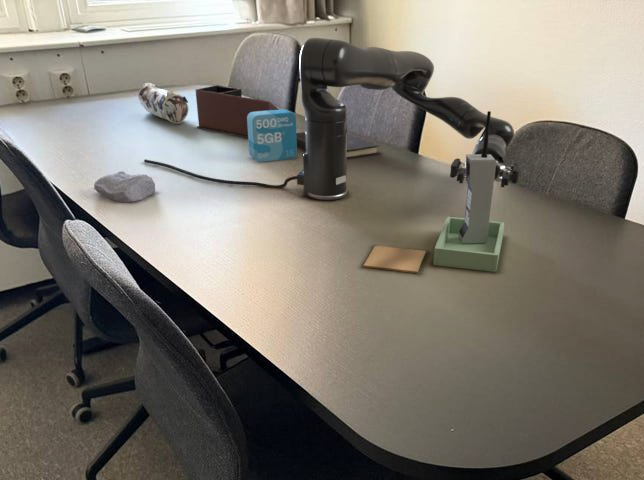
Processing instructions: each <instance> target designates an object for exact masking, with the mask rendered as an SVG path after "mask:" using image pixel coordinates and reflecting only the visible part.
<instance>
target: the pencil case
mask: <svg viewBox="0 0 644 480" xmlns="http://www.w3.org/2000/svg"><path fill="white" fill-rule="evenodd" d="M138 101H139V103H140V105H141V106H142V107H143V108H144V109H145V110H146V112H148V113H150V114H152V115H154V116H156V117H159V118H160V119H163V120H165V121H168V122H170V123H172V124H174V125H175V124H178V125H179V124H181V123H183V122H184V121H185V120H186V118H187V116H188V113H189V105H188V103H189V101H188V99H187V97H186V96H183V95H182V94H179V93H176V92H174V90H170V91H168V90H167V89H163V88H160V87H159V86H158V85H157V84H154V83H151V82H146V83H143V85H142V87H141V88H140V89H139V91H138Z"/></svg>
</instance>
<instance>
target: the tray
mask: <svg viewBox="0 0 644 480" xmlns="http://www.w3.org/2000/svg"><path fill="white" fill-rule="evenodd" d="M464 221H465V217H455V216H446V219H445V222H444V224H443V227H442V229H441V232H440V233H439V236H438V238H437V240H436V244H435V246H434V251H433V263H432V264H433V266H441V267H449V268H456V269H465V270H473V271H483V272H491V273H492V272H493V273H496V272H497V270H498V263H499V259H500V253H501V248H502V243H503V237H504V230H505V222H503V221H495V220H489V227H488V235H487V243H485V244H462V242H461V240H460V238H459V236H458V235H459V231H460V229H461V227H462V226H463V224H464Z"/></svg>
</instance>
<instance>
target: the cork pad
mask: <svg viewBox="0 0 644 480" xmlns="http://www.w3.org/2000/svg"><path fill="white" fill-rule="evenodd" d="M426 254H427V250H420V249H412V248H404V247H393V246H384V245H377V244H376V245H375V246H374V247H373V249H372V250H371V252H370V253H369V256H368V257H367V259H366V260H365V262H364V264H363V268H367V269H377V270H385V271H393V272H401V273H409V274H418V273H419V271H420V267H421V266H422V264H423V261H424V258H425V256H426Z"/></svg>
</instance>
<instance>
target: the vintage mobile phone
mask: <svg viewBox="0 0 644 480" xmlns="http://www.w3.org/2000/svg"><path fill="white" fill-rule="evenodd" d="M486 115H487V121H486V131H485V137H484V143H483V152H482V154H470V153H469V154H465V163H466V178H465V180H466V183H467V192H466V202H465V211H464V218H465V221H464V224H463V226H462V227H461V229H460V231H459V235H458V236H459V238H460V240H461V242H462V244H485V243H487V235H488V227H489V221H490V218H491V211H492V210H491V209H492V202H493V201H492V200H493V193H494V185H495V184H494V183H495V180H494V177H495V168H496V160H495V159H494V158H493V157H492V156H491V155H490V154H487V148H488V133H489V124H490V116H491V115H492V111H490V110H488V111H487V113H486Z"/></svg>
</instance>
